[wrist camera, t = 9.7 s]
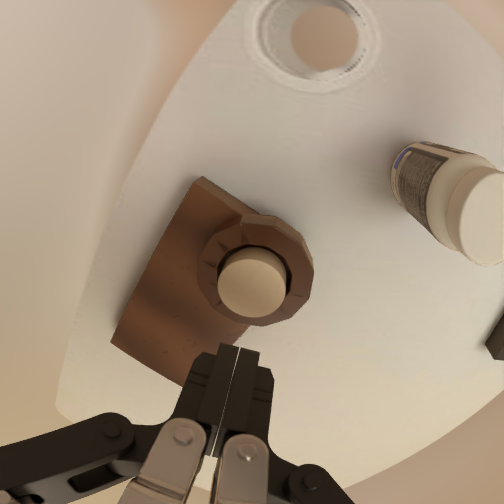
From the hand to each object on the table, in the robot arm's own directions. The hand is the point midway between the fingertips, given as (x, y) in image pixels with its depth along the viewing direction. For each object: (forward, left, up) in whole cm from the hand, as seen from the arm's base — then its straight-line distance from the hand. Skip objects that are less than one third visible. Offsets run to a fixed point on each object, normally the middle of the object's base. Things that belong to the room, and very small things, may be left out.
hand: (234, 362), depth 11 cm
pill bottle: (-8, +9, -10) cm, 15 cm away
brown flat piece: (+5, -4, -10) cm, 12 cm away
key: (0, 0, -7) cm, 7 cm away
